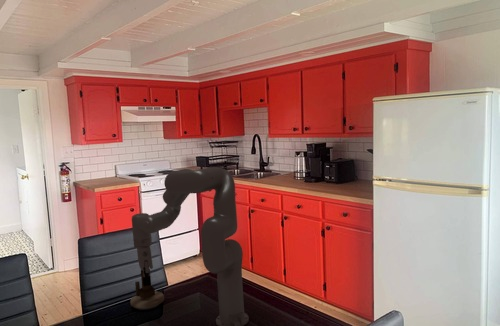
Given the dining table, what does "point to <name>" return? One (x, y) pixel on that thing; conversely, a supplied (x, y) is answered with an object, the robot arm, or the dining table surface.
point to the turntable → (146, 299)
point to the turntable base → (147, 308)
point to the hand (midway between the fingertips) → (146, 283)
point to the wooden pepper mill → (146, 289)
